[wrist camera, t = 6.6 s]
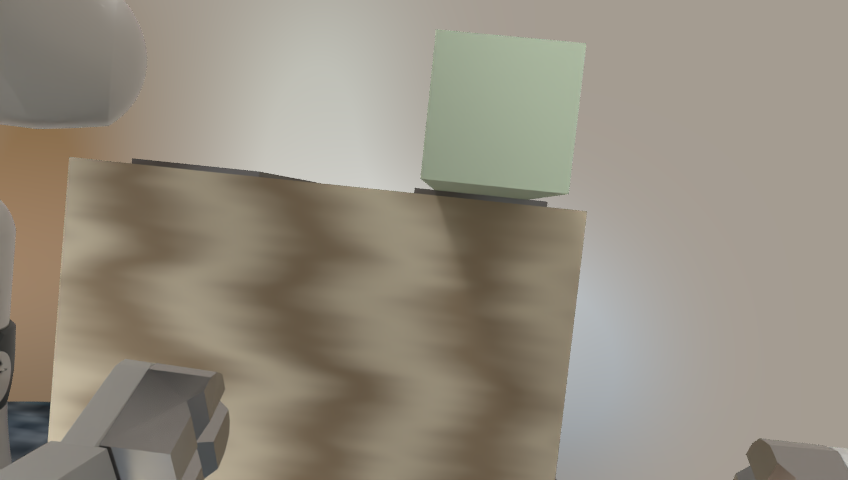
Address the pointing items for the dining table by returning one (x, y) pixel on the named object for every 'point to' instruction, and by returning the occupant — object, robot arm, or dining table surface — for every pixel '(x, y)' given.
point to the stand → (326, 317)
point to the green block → (502, 115)
